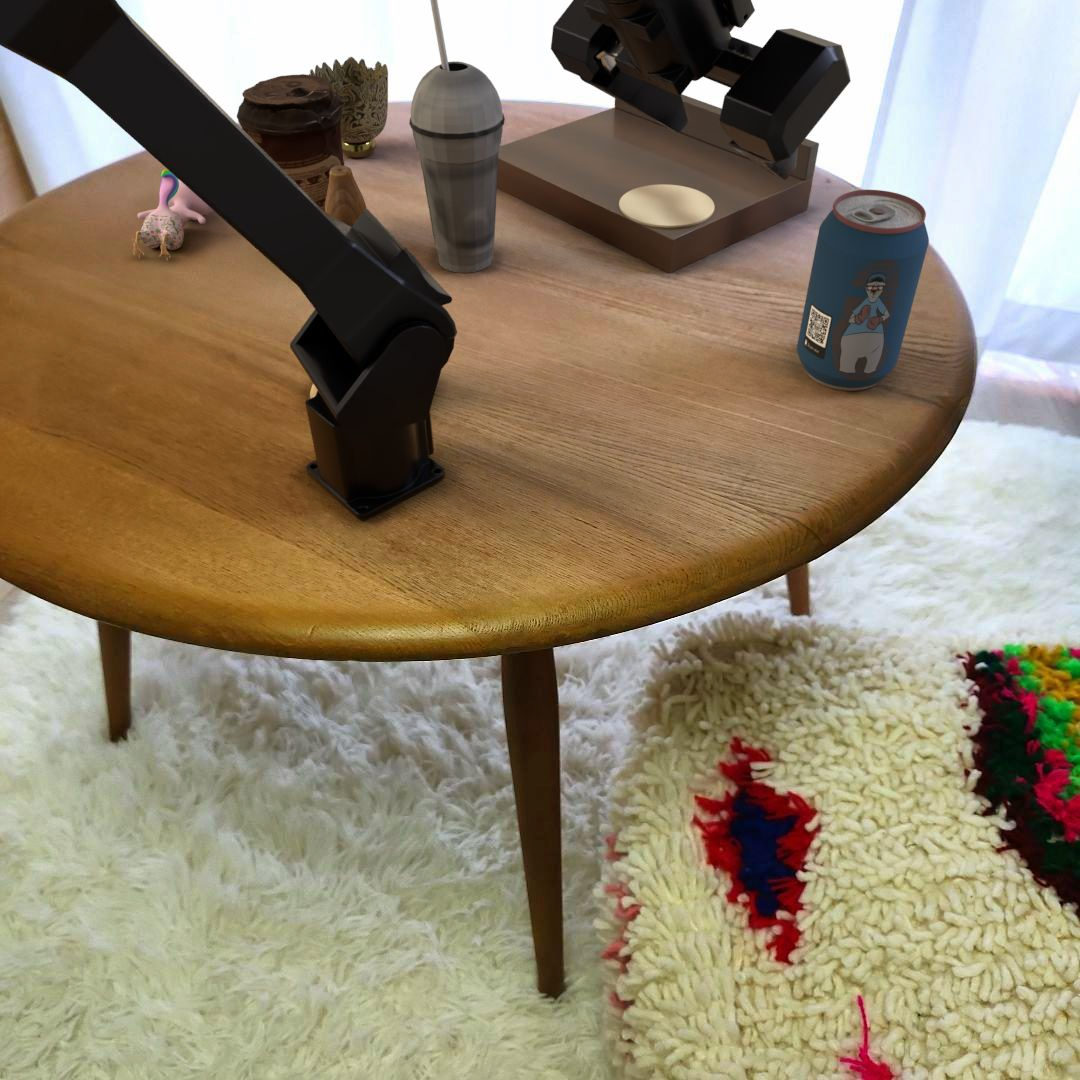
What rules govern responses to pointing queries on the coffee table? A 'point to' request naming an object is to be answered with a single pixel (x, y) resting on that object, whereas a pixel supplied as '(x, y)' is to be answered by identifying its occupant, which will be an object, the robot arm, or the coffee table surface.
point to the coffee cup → (297, 128)
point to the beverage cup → (459, 157)
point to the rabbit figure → (170, 216)
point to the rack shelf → (654, 182)
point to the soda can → (862, 288)
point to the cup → (359, 102)
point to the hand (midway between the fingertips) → (733, 149)
